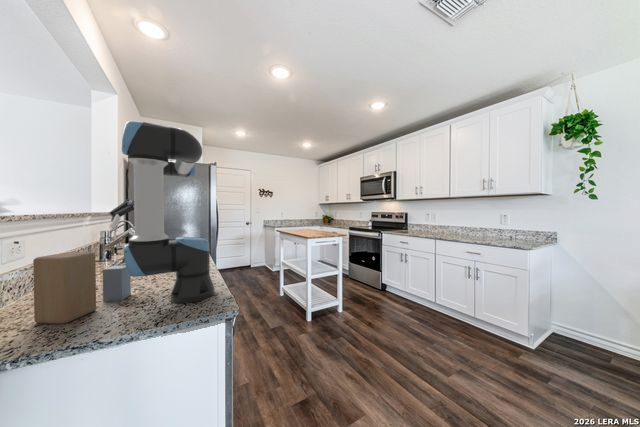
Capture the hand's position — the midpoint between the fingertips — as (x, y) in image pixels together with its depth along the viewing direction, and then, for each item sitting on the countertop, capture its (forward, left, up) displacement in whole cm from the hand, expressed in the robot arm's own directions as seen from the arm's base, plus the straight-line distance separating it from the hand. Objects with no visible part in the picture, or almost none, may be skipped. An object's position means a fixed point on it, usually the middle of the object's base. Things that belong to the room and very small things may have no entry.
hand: (131, 227), depth 100 cm
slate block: (0, +11, -27) cm, 29 cm away
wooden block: (+6, +26, -27) cm, 38 cm away
